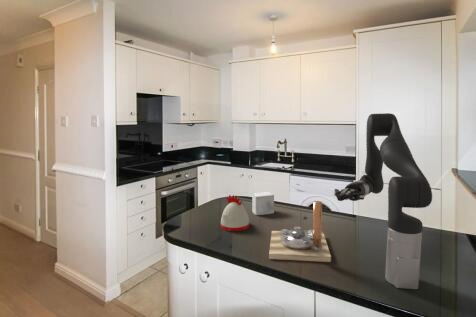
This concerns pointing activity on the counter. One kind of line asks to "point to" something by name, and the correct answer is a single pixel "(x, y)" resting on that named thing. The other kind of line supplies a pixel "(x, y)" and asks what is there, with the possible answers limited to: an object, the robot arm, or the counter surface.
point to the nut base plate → (297, 251)
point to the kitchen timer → (234, 216)
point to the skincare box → (263, 203)
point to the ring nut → (305, 233)
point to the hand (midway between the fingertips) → (339, 198)
